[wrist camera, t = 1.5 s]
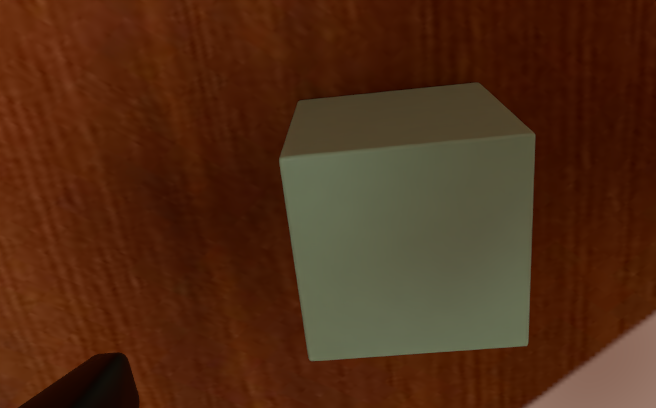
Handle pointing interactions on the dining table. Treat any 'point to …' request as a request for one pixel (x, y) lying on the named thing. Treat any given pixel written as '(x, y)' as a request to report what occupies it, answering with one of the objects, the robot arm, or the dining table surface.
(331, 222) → the green block
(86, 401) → the robot arm
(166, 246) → the dining table surface
